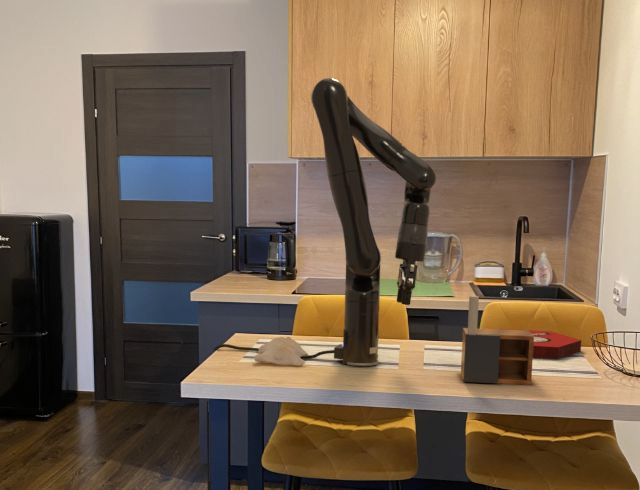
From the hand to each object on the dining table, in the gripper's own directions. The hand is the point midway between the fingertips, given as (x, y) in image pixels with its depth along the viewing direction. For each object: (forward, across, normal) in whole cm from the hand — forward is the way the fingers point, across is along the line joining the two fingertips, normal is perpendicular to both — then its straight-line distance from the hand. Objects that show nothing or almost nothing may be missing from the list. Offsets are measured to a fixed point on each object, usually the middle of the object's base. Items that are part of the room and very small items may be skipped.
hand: (402, 303), depth 194 cm
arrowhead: (+20, -15, -29) cm, 38 cm away
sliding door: (+16, +15, +19) cm, 29 cm away
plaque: (+10, -28, +43) cm, 52 cm away
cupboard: (+15, +10, +24) cm, 30 cm away
